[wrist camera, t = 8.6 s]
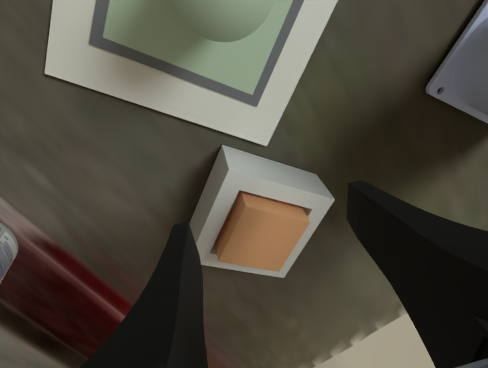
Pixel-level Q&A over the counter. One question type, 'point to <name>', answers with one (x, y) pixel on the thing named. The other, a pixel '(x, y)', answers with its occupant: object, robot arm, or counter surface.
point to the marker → (223, 17)
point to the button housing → (260, 183)
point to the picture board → (187, 60)
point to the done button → (260, 232)
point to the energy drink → (7, 249)
